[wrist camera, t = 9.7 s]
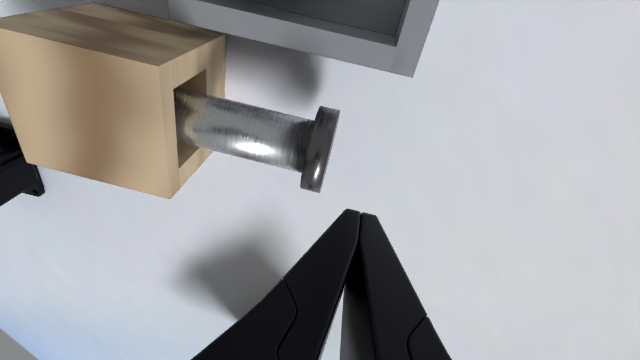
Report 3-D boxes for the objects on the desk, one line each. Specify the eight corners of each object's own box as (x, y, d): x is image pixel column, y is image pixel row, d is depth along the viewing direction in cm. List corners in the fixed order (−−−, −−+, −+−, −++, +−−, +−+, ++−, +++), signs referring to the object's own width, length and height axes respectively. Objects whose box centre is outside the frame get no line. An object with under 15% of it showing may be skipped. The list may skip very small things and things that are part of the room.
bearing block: (114, 112, 24) (26, 162, 18) (94, 2, 20) (-27, 21, 14) (223, 139, 23) (170, 199, 18) (225, 33, 19) (158, 66, 14)
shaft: (141, 119, 21) (90, 153, 18) (132, 47, 19) (70, 69, 15) (327, 165, 21) (315, 209, 17) (343, 98, 18) (332, 133, 15)
